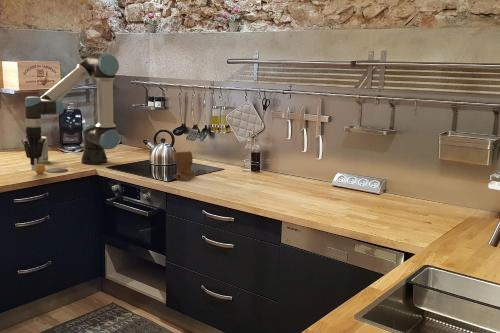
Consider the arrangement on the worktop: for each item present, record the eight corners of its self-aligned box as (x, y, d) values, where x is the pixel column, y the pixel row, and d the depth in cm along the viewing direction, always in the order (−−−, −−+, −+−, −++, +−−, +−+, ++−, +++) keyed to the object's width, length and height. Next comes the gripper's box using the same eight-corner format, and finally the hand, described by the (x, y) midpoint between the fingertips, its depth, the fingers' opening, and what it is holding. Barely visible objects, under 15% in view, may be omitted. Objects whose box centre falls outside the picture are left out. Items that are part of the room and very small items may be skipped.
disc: (66, 167, 298) (66, 167, 298) (69, 172, 288) (69, 171, 288) (43, 169, 293) (43, 168, 293) (46, 173, 282) (46, 173, 282)
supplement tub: (45, 159, 318) (44, 135, 315) (50, 162, 311) (49, 137, 308) (28, 161, 312) (27, 136, 309) (33, 163, 305) (32, 138, 302)
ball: (39, 177, 282) (46, 169, 285) (41, 174, 277) (48, 167, 281) (31, 170, 280) (37, 163, 283) (33, 167, 276) (40, 160, 279)
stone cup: (181, 174, 295) (181, 148, 292) (199, 177, 290) (200, 150, 287) (166, 179, 281) (167, 152, 278) (186, 182, 277) (186, 154, 274)
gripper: (27, 128, 266) (28, 173, 270) (48, 126, 277) (49, 169, 281) (17, 126, 269) (19, 171, 274) (39, 124, 281) (40, 167, 285)
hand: (34, 170), depth 278 cm, fingers closed
